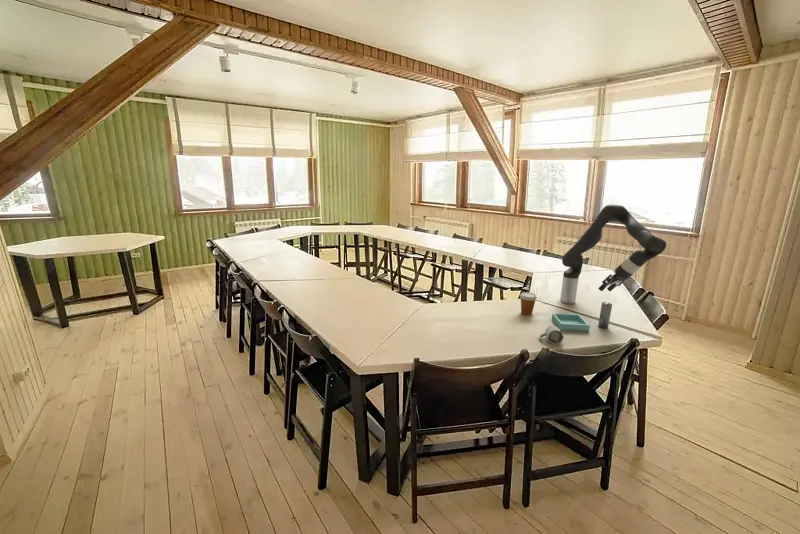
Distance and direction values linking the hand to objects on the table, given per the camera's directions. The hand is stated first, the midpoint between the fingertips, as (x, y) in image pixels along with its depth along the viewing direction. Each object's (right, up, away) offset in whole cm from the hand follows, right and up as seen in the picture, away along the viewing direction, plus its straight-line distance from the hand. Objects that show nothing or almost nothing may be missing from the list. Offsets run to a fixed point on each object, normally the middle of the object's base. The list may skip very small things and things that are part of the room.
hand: (604, 290), depth 190 cm
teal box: (-14, -21, +11) cm, 27 cm away
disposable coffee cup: (-32, -16, +28) cm, 45 cm away
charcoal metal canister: (+4, -21, +9) cm, 23 cm away
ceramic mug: (-32, -26, -7) cm, 42 cm away
